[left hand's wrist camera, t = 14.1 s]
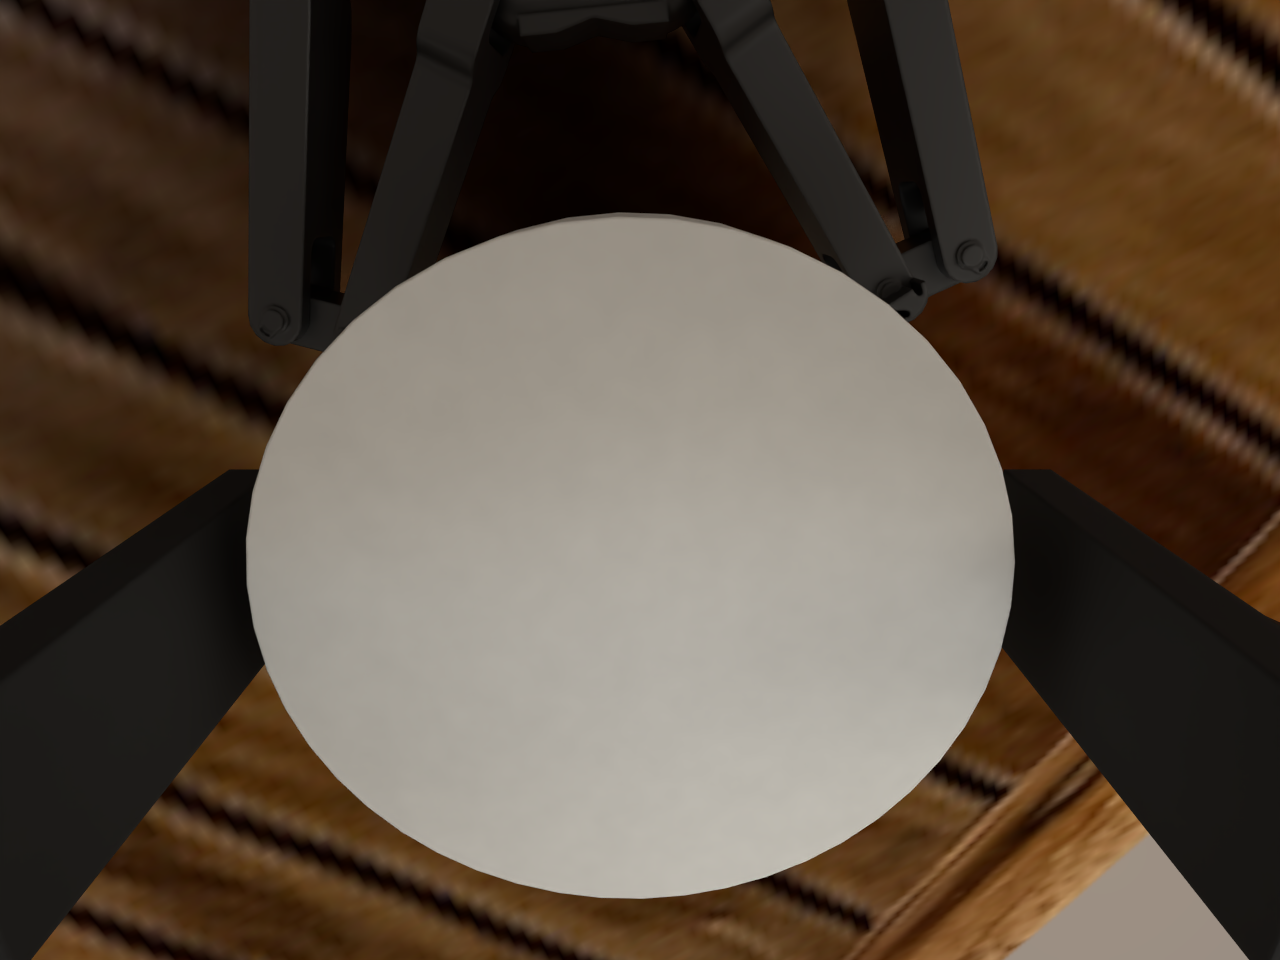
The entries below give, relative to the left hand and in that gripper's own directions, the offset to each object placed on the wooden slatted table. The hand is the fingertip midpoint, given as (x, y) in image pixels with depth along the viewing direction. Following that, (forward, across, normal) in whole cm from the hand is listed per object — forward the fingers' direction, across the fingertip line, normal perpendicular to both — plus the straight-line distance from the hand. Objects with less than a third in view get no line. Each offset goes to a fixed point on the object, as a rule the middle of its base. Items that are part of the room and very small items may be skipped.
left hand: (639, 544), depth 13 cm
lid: (-2, 0, 0) cm, 2 cm away
